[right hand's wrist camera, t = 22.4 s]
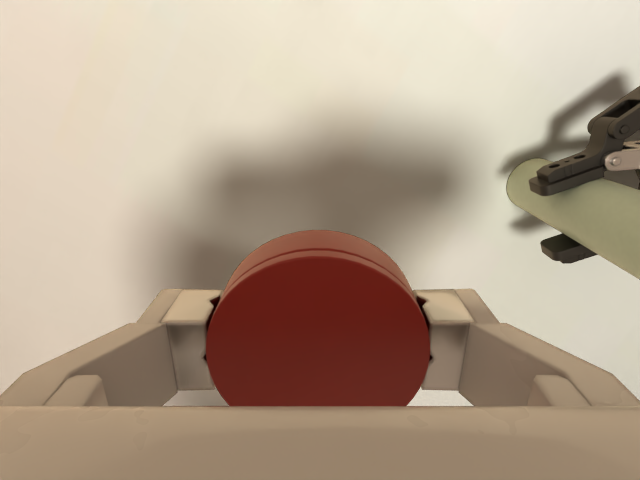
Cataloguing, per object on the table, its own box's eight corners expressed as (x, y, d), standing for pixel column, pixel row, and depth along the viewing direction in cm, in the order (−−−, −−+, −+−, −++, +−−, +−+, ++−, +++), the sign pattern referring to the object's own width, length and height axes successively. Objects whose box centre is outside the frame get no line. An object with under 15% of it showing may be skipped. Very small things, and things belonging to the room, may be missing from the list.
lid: (212, 376, 10) (194, 424, 9) (235, 209, 9) (219, 234, 7) (384, 405, 11) (394, 455, 9) (440, 250, 9) (463, 282, 8)
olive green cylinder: (567, 166, 32) (786, 237, 17) (542, 213, 34) (724, 317, 18) (520, 151, 32) (704, 211, 17) (497, 199, 33) (646, 294, 18)
